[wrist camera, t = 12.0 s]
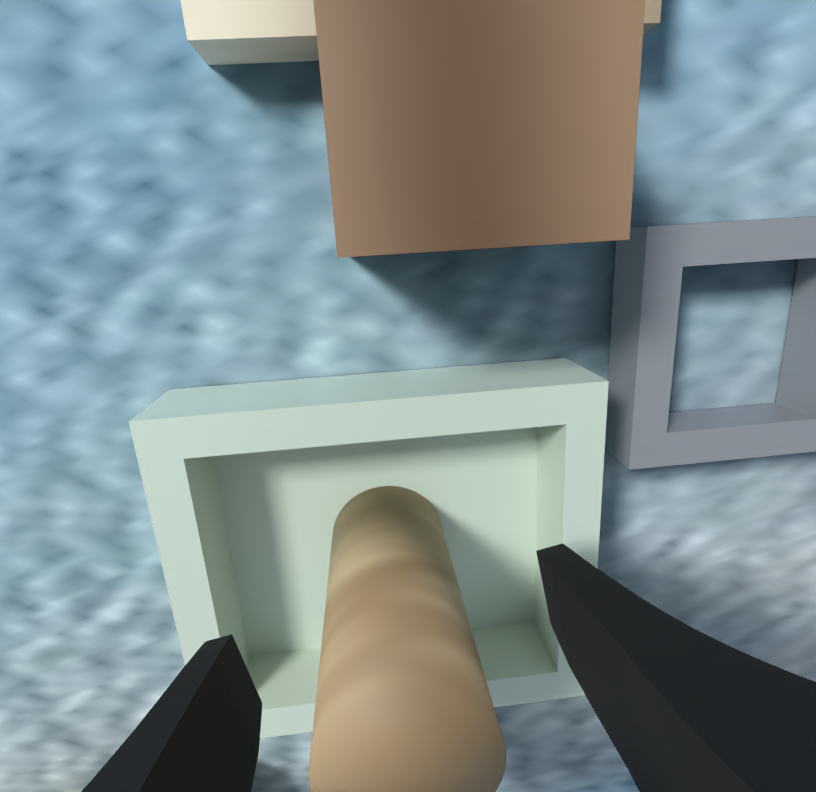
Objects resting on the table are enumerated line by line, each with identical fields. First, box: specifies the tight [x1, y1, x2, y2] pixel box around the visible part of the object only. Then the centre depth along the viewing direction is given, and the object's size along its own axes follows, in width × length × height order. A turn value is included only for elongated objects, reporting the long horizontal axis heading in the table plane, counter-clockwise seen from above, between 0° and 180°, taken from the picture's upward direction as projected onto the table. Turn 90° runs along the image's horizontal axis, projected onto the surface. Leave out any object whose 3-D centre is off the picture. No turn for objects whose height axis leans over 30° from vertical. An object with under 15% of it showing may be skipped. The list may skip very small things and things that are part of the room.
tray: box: [129, 358, 609, 738], centre depth 14 cm, size 11×10×3 cm
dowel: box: [309, 486, 506, 792], centre depth 12 cm, size 3×3×7 cm
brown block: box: [313, 0, 645, 258], centre depth 10 cm, size 5×4×5 cm
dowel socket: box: [605, 216, 816, 470], centre depth 14 cm, size 6×6×2 cm
